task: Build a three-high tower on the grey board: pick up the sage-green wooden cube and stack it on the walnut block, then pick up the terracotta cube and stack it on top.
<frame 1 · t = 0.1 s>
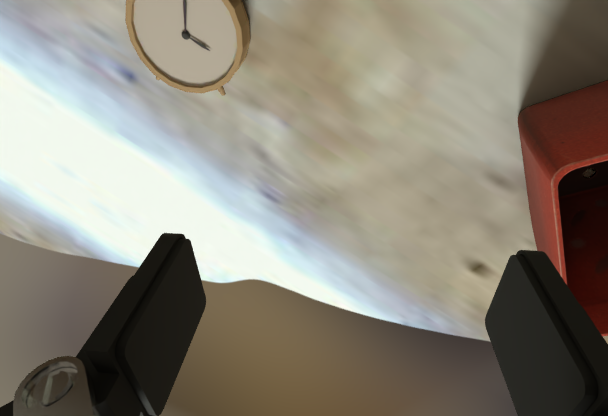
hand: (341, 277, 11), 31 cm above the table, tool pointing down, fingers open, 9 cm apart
plant pot: (585, 139, 39), on the table
alarm clock: (198, 8, 36), on the table
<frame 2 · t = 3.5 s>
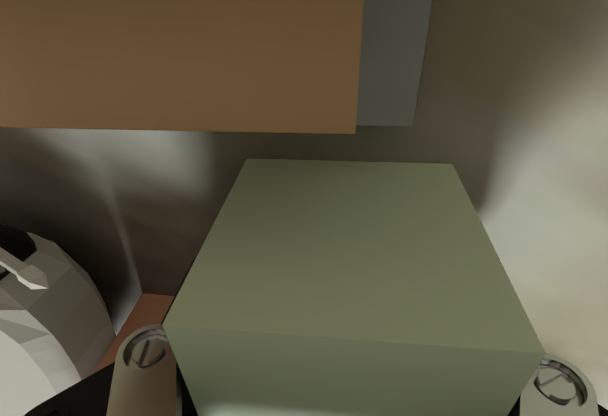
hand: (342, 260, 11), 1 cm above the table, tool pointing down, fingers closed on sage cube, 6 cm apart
sage cube: (343, 239, 12), on the table, touching gripper
terracotta cube: (222, 341, 17), on the table
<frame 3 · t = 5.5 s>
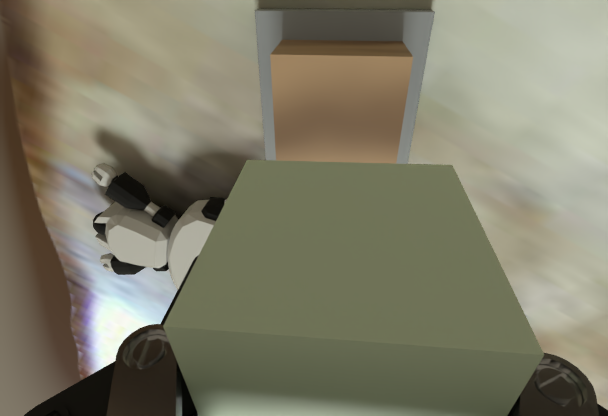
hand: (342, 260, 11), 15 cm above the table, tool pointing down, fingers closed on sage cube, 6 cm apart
build board: (338, 95, 24), on the table
walnut block: (338, 100, 23), point 1 cm above the table, touching build board
sage cube: (343, 240, 12), point 14 cm above the table, touching gripper
robot toy: (193, 226, 32), on the table
when the fingers open (7 cm above the table, at t = 7.6 s): sage cube stays where it is, resting on walnut block.
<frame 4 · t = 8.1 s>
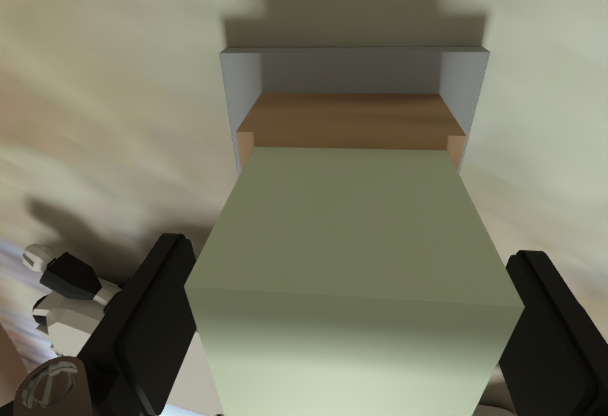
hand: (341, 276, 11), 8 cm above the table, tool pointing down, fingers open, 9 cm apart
build board: (344, 160, 17), on the table
walnut block: (344, 170, 16), point 1 cm above the table, touching build board, sage cube
sage cube: (344, 224, 13), point 5 cm above the table, touching walnut block
robot toy: (165, 305, 26), on the table
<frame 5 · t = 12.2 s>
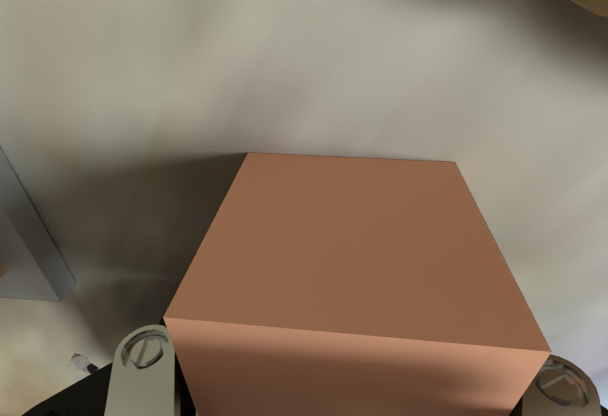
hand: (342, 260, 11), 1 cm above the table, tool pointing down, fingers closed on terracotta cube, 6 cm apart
terracotta cube: (342, 236, 12), on the table, touching gripper
robot toy: (257, 380, 19), on the table
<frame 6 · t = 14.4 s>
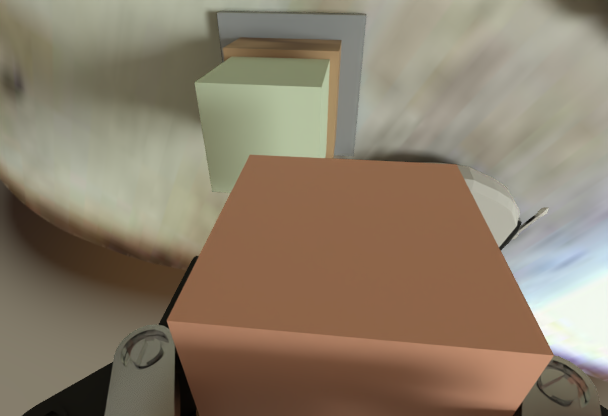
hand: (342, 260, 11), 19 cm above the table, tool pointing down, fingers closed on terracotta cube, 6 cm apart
build board: (293, 86, 27), on the table
walnut block: (291, 90, 27), point 1 cm above the table, touching build board, sage cube
sage cube: (281, 107, 23), point 5 cm above the table, touching walnut block
terracotta cube: (344, 238, 12), point 18 cm above the table, touching gripper
robot toy: (421, 224, 33), on the table
when the fingers open (13 cm above the table, at t = 16.7 s): terracotta cube stays where it is, resting on sage cube.
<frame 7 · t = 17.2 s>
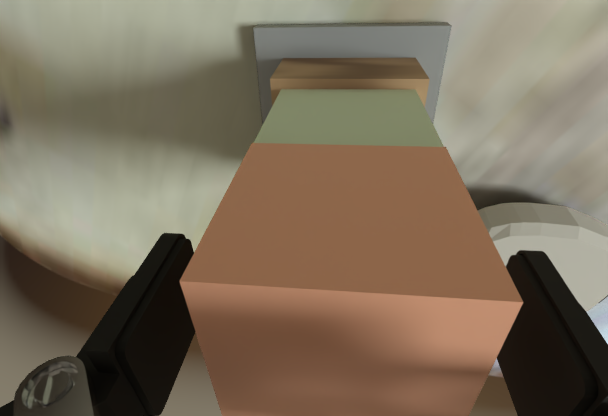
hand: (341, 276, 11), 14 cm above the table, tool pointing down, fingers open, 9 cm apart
build board: (345, 114, 22), on the table
walnut block: (345, 120, 21), point 1 cm above the table, touching build board, sage cube
sage cube: (344, 150, 18), point 5 cm above the table, touching terracotta cube, walnut block
terracotta cube: (342, 221, 13), point 11 cm above the table, touching sage cube
robot toy: (490, 265, 28), on the table
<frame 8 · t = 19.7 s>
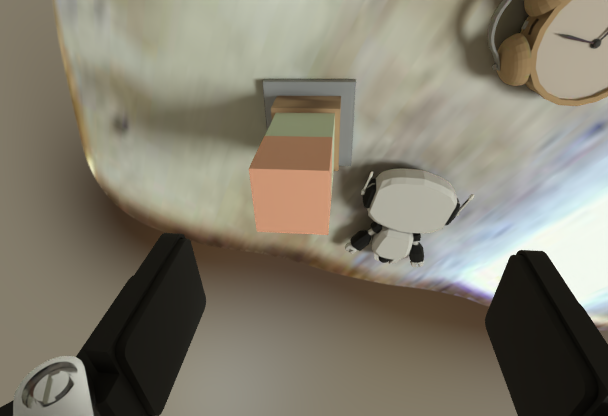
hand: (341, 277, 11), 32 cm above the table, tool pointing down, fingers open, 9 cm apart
build board: (310, 122, 42), on the table
walnut block: (309, 126, 41), point 1 cm above the table, touching build board, sage cube
alarm clock: (558, 32, 35), on the table
sage cube: (305, 140, 38), point 5 cm above the table, touching terracotta cube, walnut block
terracotta cube: (299, 166, 33), point 11 cm above the table, touching sage cube
robot toy: (398, 209, 48), on the table
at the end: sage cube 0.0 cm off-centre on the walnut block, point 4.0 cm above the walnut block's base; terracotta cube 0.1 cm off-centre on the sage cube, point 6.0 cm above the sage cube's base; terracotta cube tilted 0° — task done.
